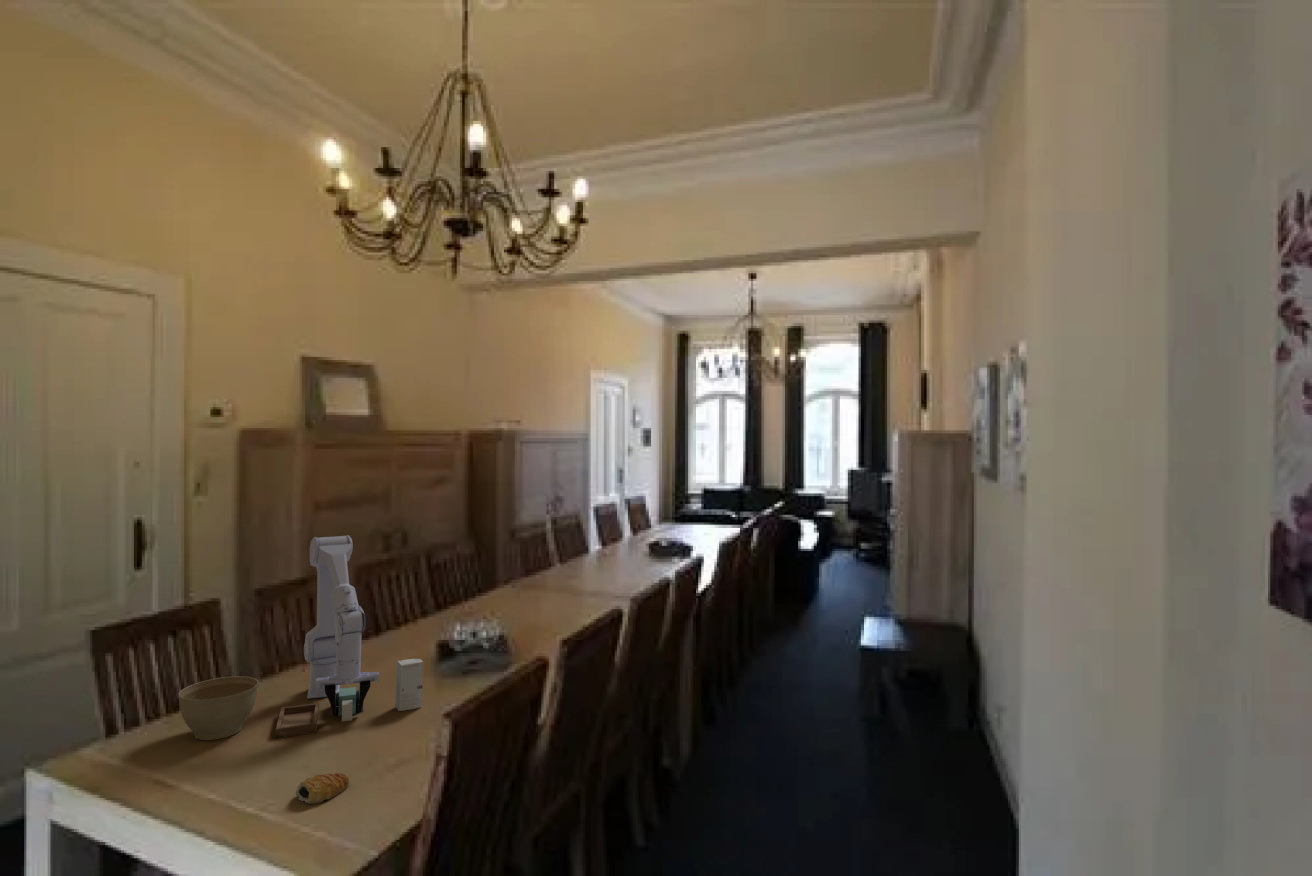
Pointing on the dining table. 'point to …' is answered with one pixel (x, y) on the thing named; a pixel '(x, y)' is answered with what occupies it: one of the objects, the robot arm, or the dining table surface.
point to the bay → (338, 699)
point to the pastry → (321, 787)
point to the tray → (297, 720)
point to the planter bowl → (218, 706)
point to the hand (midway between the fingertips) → (347, 712)
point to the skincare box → (409, 684)
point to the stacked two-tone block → (347, 703)
